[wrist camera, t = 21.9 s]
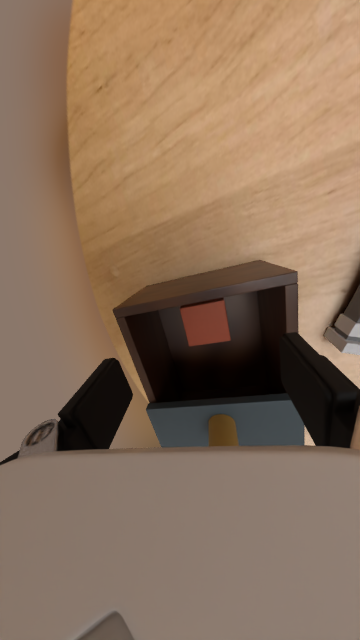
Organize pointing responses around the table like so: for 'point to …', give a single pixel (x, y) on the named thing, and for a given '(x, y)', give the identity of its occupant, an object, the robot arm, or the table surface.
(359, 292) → the alarm clock
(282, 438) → the lid
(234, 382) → the box
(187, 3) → the table surface
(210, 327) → the block
